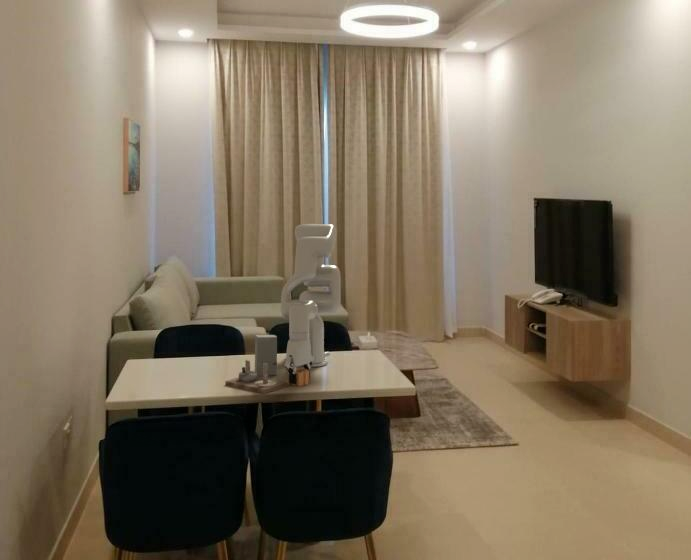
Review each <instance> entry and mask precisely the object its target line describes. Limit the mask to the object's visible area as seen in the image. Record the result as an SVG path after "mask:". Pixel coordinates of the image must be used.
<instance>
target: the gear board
mask: <svg viewBox="0 0 691 560" xmlns="http://www.w3.org/2000/svg"><path fill="white" fill-rule="evenodd" d="M244 361H245V366H242V367H241V372H238V377H235V378H232V379H228V380H225V383H224V384H225V386H229V387H233V388H236V389H237V388H238V389H241V390H246V391H250V392H255V393H259V394H268V393H271V392H274V391H277V390H280V389H283V388H286V387H287V388H288V387H289V381H285V380H279V379H274V378H269V376H268V364H267V363H263V376H257V372H255V370H253V371H252V370H251V360H250V359H245V360H244Z"/></svg>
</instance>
